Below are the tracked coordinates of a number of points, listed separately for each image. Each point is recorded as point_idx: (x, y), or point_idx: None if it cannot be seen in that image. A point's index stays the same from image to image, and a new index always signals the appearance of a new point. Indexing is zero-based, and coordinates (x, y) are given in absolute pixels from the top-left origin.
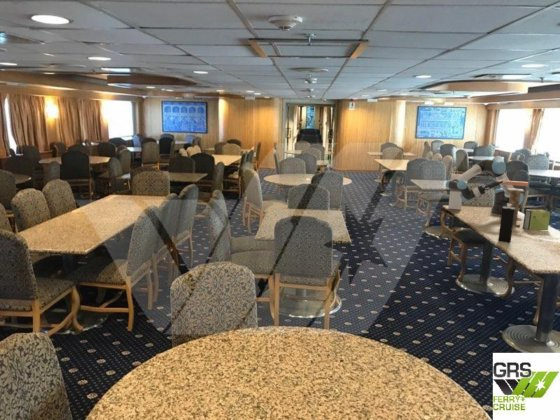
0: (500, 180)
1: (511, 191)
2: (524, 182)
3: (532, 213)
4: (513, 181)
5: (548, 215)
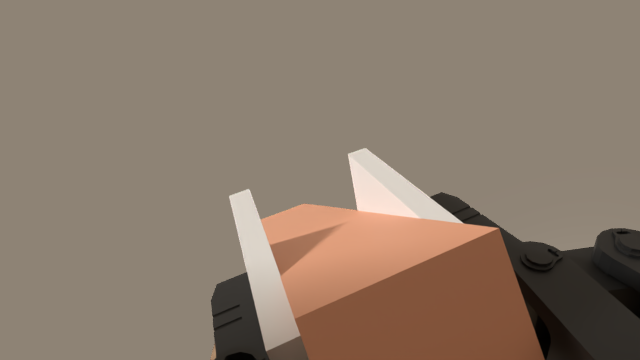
0: (351, 245)
1: None
2: (309, 204)
3: None
4: (312, 214)
5: None
